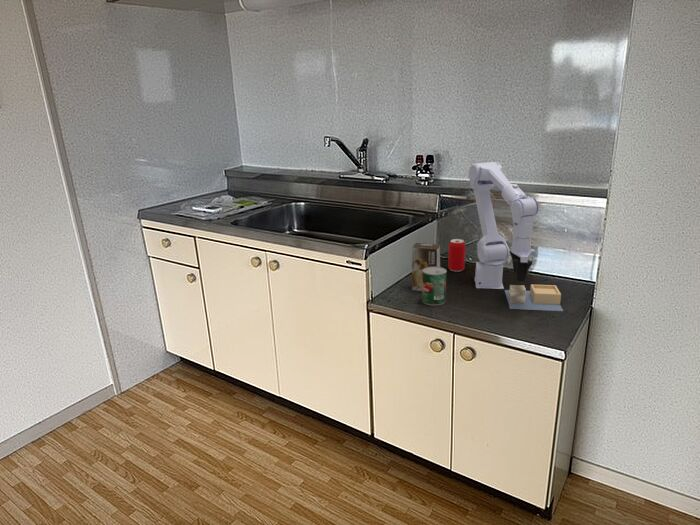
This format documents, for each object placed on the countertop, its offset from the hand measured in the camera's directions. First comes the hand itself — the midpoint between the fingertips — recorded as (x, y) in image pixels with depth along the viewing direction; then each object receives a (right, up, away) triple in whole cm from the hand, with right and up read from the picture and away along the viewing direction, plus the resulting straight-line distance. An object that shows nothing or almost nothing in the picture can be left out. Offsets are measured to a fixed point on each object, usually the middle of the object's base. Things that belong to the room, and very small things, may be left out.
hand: (518, 276), depth 158 cm
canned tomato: (-27, -9, +6) cm, 29 cm away
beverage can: (-13, +2, +34) cm, 37 cm away
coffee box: (-28, -5, +17) cm, 33 cm away
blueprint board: (+5, -8, +3) cm, 10 cm away
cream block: (0, -8, +3) cm, 8 cm away
